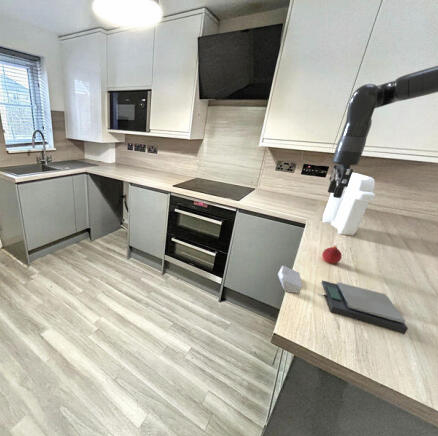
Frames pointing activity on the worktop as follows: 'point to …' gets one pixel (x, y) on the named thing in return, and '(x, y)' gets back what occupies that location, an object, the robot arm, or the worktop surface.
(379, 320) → the scale
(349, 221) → the white stepped block
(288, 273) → the light grey faceted block
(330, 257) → the onion
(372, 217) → the worktop surface
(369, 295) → the scale plate
